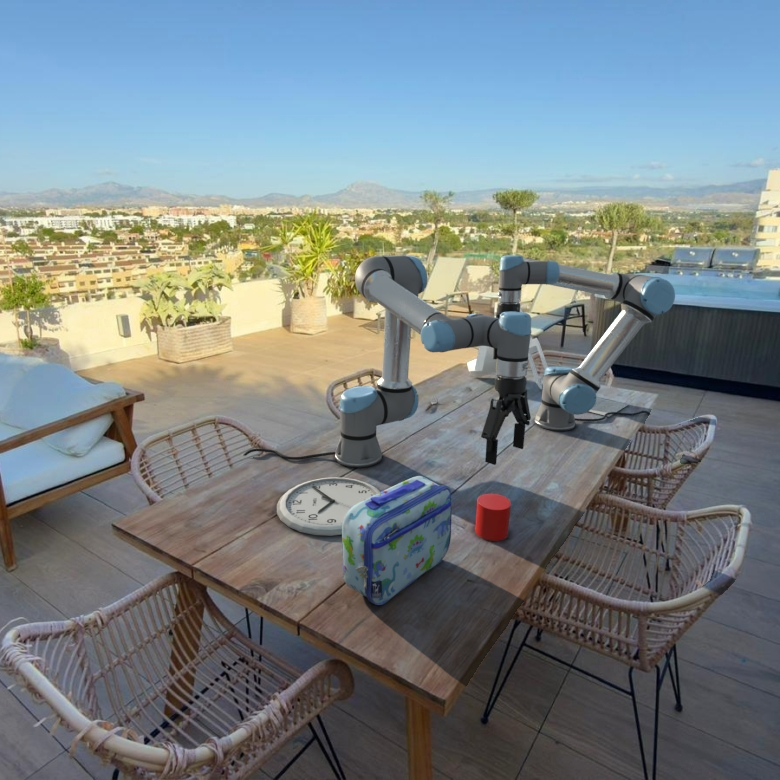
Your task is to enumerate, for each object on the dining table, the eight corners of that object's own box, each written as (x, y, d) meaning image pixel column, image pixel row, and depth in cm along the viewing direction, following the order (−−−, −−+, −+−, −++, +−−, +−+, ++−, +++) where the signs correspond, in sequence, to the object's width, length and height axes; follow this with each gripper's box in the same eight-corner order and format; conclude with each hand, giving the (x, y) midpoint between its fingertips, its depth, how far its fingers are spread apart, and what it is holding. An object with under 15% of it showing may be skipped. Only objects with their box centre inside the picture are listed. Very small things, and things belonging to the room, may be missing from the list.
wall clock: (392, 527, 129) (268, 531, 127) (391, 533, 130) (269, 537, 127) (383, 473, 158) (282, 475, 155) (383, 478, 158) (282, 480, 156)
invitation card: (608, 416, 214) (573, 407, 224) (608, 416, 214) (573, 408, 224) (628, 404, 229) (594, 396, 238) (628, 405, 229) (594, 397, 238)
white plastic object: (487, 418, 267) (468, 395, 242) (469, 346, 289) (449, 318, 264) (558, 394, 255) (545, 368, 230) (533, 321, 277) (518, 289, 252)
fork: (422, 411, 216) (422, 407, 215) (433, 400, 230) (433, 396, 230) (428, 412, 215) (429, 407, 215) (438, 401, 230) (439, 396, 229)
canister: (502, 522, 136) (504, 492, 133) (512, 540, 128) (515, 509, 126) (471, 523, 135) (473, 494, 133) (480, 541, 127) (482, 510, 125)
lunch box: (371, 618, 102) (371, 524, 95) (336, 591, 109) (334, 502, 103) (455, 562, 119) (460, 479, 113) (420, 542, 126) (423, 463, 120)
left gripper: (497, 388, 118) (491, 474, 124) (548, 369, 135) (541, 445, 141) (469, 382, 122) (465, 465, 128) (522, 364, 140) (516, 438, 146)
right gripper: (483, 298, 187) (481, 356, 193) (516, 308, 164) (512, 373, 170) (502, 297, 189) (499, 354, 195) (538, 307, 166) (533, 371, 172)
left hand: (504, 455), depth 135 cm, fingers open, 13 cm apart
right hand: (505, 363), depth 183 cm, fingers open, 13 cm apart
